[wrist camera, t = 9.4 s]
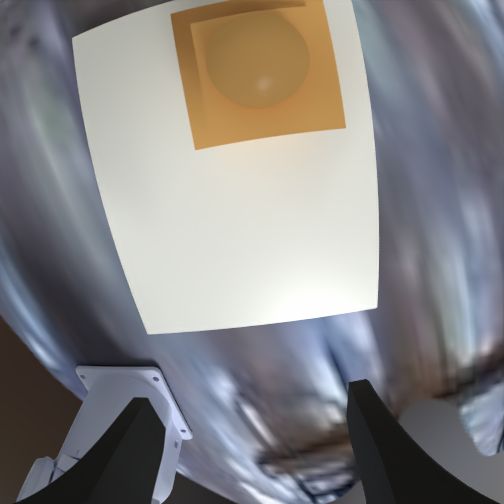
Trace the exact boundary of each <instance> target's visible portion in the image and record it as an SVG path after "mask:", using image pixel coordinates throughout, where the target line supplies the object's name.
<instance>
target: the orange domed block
mask: <svg viewBox="0 0 504 504" xmlns="http://www.w3.org/2000/svg"><path fill="white" fill-rule="evenodd" d="M170 16H171V23H172V29H173V35H174V40H175V46H176V52H177V58H178V63H179V69H180V74H181V80H182V85H183V91H184V96H185V101H186V107H187V112H188V117H189V122H190V127H191V132H192V137H193V142H194V147H195V150H200V149H205V148H210V147H215V146H220V145H226V144H231V143H237V142H243V141H249V140H255V139H261V138H268V137H275V136H282V135H289V134H297V133H305V132H314V131H323V130H333V129H344V128H346V123H345V116H344V108H343V102H342V95H341V89H340V83H339V77H338V71H337V65H336V60H335V54H334V49H333V44H332V39H331V34H330V30H329V25H328V21H327V16H326V12H325V8H324V4H323V0H229V1H223V2H218V3H213V4H208V5H204V6H199V7H195V8H191V9H187V10H183V11H179V12H175V13H172V14H170Z"/></svg>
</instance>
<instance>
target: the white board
mask: <svg viewBox="0 0 504 504" xmlns="http://www.w3.org/2000/svg"><path fill="white" fill-rule="evenodd" d="M223 1H229V0H174V1H170V2H166V3H163V4H160V5H156V6H153V7H150V8H147V9H143V10H140V11H137V12H135V13H132V14H129V15H126V16H123V17H121V18H118V19H115V20H113V21H110V22H108V23H105V24H103V25H100V26H98V27H95V28H93V29H91V30H89V31H86V32H84V33H82V34H80V35H78V36H75V37H73V38H72V43H73V52H74V61H75V69H76V76H77V83H78V90H79V96H80V102H81V108H82V114H83V119H84V125H85V130H86V135H87V140H88V144H89V149H90V153H91V158H92V162H93V166H94V171H95V175H96V179H97V183H98V187H99V190H100V194H101V198H102V202H103V205H104V209H105V212H106V216H107V219H108V223H109V226H110V229H111V233H112V236H113V239H114V242H115V245H116V249H117V252H118V255H119V258H120V261H121V264H122V267H123V270H124V272H125V275H126V278H127V281H128V284H129V287H130V289H131V292H132V295H133V297H134V300H135V303H136V305H137V308H138V311H139V313H140V316H141V318H142V321H143V323H144V326H145V328H146V331H147V333H148V334H161V333H176V332H190V331H202V330H214V329H225V328H235V327H245V326H254V325H263V324H271V323H279V322H287V321H295V320H302V319H310V318H317V317H323V316H330V315H337V314H343V313H349V312H355V311H361V310H367V309H373V308H377V299H378V272H379V214H378V187H377V170H376V156H375V144H374V133H373V123H372V115H371V106H370V99H369V91H368V84H367V78H366V71H365V65H364V60H363V54H362V48H361V43H360V38H359V33H358V28H357V24H356V19H355V15H354V10H353V6H352V2H351V0H323V4H324V8H325V12H326V16H327V21H328V25H329V30H330V34H331V39H332V44H333V49H334V54H335V60H336V65H337V71H338V77H339V83H340V89H341V95H342V102H343V108H344V116H345V123H346V128H344V129H333V130H323V131H314V132H305V133H297V134H289V135H282V136H275V137H268V138H261V139H255V140H249V141H243V142H237V143H231V144H226V145H220V146H215V147H210V148H205V149H200V150H195V147H194V142H193V137H192V132H191V127H190V122H189V117H188V112H187V107H186V101H185V96H184V91H183V85H182V80H181V74H180V69H179V63H178V58H177V52H176V46H175V40H174V35H173V29H172V23H171V16H170V14H172V13H175V12H179V11H183V10H187V9H191V8H195V7H199V6H204V5H208V4H213V3H218V2H223Z"/></svg>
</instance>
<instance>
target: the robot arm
mask: <svg viewBox="0 0 504 504" xmlns="http://www.w3.org/2000/svg"><path fill="white" fill-rule="evenodd" d="M75 371H76V373H77V375H78V376H79V378H80V379H81V381H82V383H83V384H84V386H85V387H86V389H87V390H88V394H87V396H86V398H85V400H84V402H83V404H82V406H81V408H80V410H79V412H78V414H77V417H76V418H75V421H74V423H73V425H72V427H71V429H70V432H69V433H68V435H67V438H66V440H65V442H64V444H63V446H62V449H61V451H60V453H59V455H58V457H57V458H56V459H55V460H52V459H51V458H49V457H45V458H40V459H37V460H36V461H35V463H34V465H33V466H32V468H31V470H30V472H29V474H28V476H27V478H26V480H25V482H24V484H23V487H22V489H21V491H20V494H19V496H18V498H17V501H16V503H14V504H161V503H162V502H163V501H164V500H165V499H166V498H167V497H168V496H169V494H170V492H171V490H172V487H173V482H174V477H175V472H176V467H177V462H178V457H179V453H180V448H181V443H182V439H192V436H193V434H192V432H191V430H190V429H189V427H188V425H187V423H186V421H185V419H184V417H183V415H182V414H181V412H180V410H179V408H178V406H177V404H176V402H175V400H174V398H173V396H172V394H171V392H170V390H169V388H168V386H167V383H166V381H165V379H164V377H163V375H162V373H161V371H160V370H159V369H158V368H156V367H99V366H77V368H76V369H75ZM156 377H157V378H156ZM346 417H347V423H348V429H349V435H350V441H351V445H352V448H353V452H354V455H355V459H356V463H357V466H358V470H359V473H360V477H361V481H362V485H363V488H364V492H365V497H366V504H500V503H498V502H496V501H494V500H492V499H490V498H488V497H486V496H484V495H482V494H480V493H479V492H477V491H475V490H474V489H472V488H471V487H469V486H467V485H466V484H464V483H463V482H462V481H460V480H459V479H457V478H456V477H455V476H453V475H452V474H450V473H449V472H448V471H446V470H445V469H444V468H443V467H442V466H440V465H439V464H438V463H437V462H436V461H435V460H433V459H432V458H431V457H430V456H429V455H428V454H427V453H426V452H425V451H424V450H423V449H422V448H421V447H420V446H419V445H418V444H417V443H416V442H415V441H414V440H413V439H412V438H411V437H410V436H409V434H407V432H406V431H405V430H404V429H403V428H402V426H401V425H400V424H399V423H398V421H397V420H396V419H395V418H394V416H393V415H392V414H391V413H390V411H389V410H388V409H387V407H386V406H385V405H384V403H383V402H382V400H381V399H380V398H379V396H378V395H377V393H376V392H375V390H374V388H373V387H372V385H371V384H370V382H369V381H368V380H367V379H364V380H359V381H353V382H349V389H348V403H347V416H346Z"/></svg>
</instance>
